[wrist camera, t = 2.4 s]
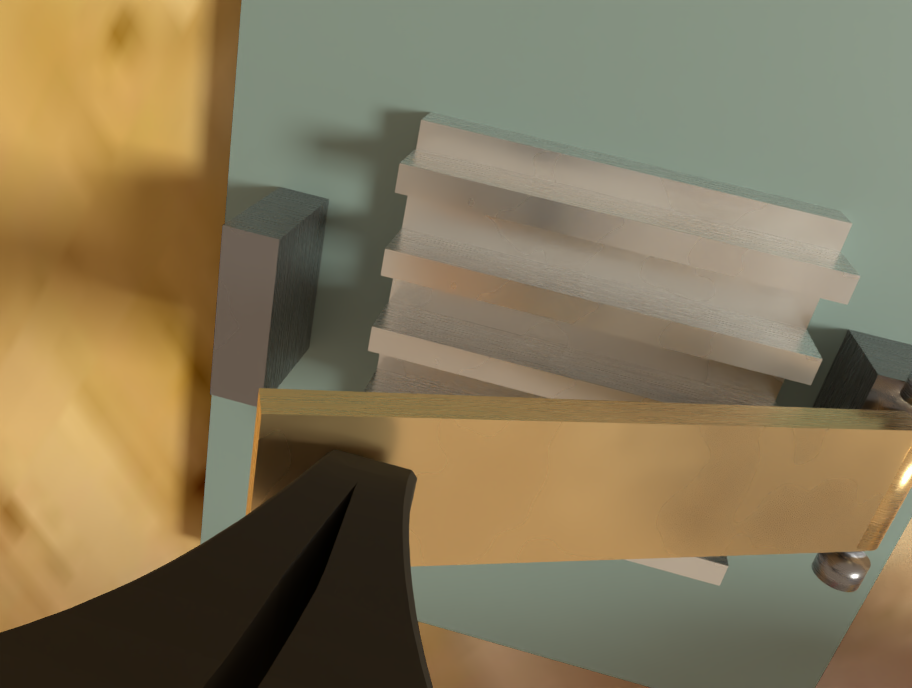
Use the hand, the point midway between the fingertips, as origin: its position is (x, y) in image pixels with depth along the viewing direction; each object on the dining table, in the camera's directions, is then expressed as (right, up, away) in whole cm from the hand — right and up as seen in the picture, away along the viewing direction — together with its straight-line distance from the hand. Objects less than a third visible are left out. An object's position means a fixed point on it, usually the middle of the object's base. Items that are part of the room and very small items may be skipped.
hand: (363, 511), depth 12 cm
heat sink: (+4, +3, +7) cm, 9 cm away
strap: (+4, 0, +3) cm, 5 cm away
